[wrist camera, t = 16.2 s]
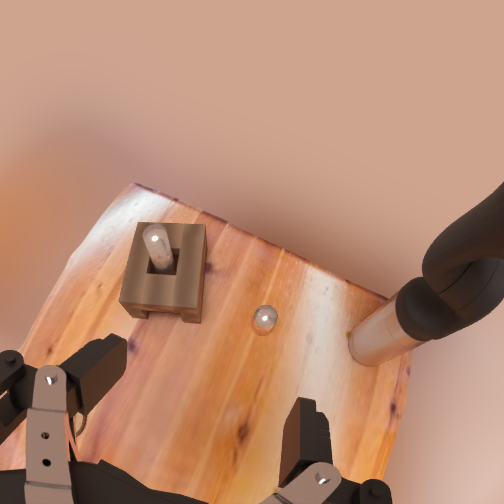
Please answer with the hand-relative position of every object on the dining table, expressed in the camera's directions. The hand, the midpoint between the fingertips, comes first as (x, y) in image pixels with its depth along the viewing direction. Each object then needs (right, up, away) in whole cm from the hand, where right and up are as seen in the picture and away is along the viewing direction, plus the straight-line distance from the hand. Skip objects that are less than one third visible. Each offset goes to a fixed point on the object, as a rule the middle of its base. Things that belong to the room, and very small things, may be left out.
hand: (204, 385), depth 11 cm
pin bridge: (-14, 0, +42) cm, 44 cm away
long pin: (-14, 0, +42) cm, 44 cm away
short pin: (+4, -8, +39) cm, 40 cm away
